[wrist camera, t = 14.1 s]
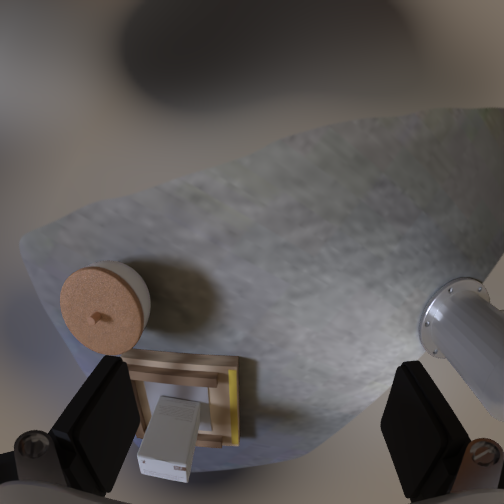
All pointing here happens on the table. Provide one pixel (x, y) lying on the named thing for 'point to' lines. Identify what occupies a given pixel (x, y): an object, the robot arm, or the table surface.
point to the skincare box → (170, 439)
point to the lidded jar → (106, 306)
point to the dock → (189, 390)
